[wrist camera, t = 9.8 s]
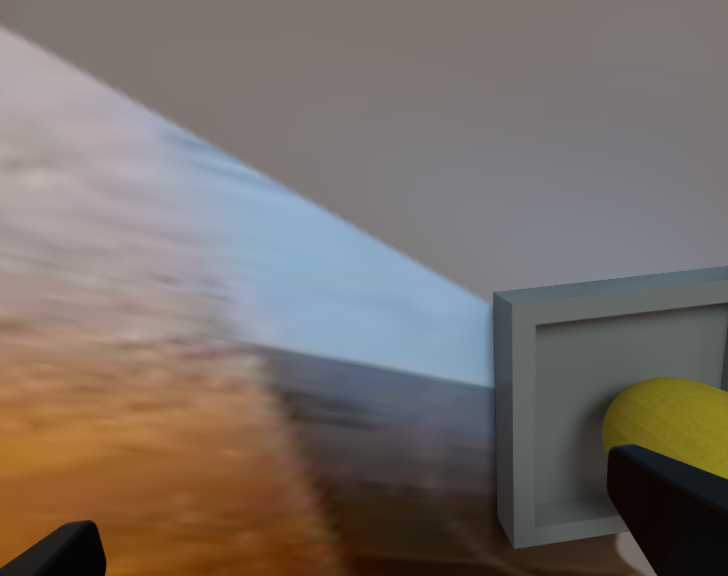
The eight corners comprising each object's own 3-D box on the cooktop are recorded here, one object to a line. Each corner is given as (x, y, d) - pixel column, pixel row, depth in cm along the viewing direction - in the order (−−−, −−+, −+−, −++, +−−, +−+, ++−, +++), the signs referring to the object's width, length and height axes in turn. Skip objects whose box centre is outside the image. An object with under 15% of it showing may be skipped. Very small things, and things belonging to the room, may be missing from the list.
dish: (716, 485, 24) (751, 512, 22) (497, 517, 23) (514, 549, 21) (742, 264, 21) (786, 272, 19) (493, 292, 20) (511, 304, 18)
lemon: (697, 399, 21) (912, 523, 14) (611, 475, 22) (771, 635, 14) (633, 326, 20) (832, 417, 12) (544, 408, 21) (681, 545, 13)
